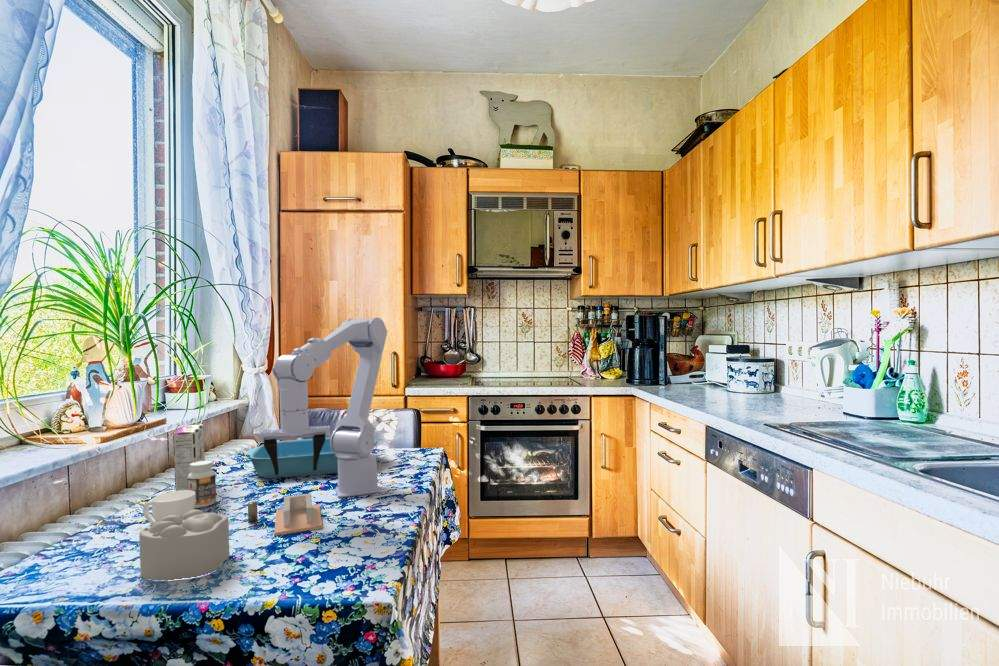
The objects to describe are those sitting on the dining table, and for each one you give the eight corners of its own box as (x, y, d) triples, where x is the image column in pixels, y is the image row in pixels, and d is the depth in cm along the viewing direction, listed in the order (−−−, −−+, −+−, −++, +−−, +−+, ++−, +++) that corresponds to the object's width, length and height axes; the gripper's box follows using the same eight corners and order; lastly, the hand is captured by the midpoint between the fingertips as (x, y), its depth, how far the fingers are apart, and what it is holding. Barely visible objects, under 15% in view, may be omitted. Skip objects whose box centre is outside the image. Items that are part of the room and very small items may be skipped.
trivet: (319, 506, 118) (318, 504, 118) (322, 528, 105) (322, 525, 105) (276, 512, 114) (276, 510, 114) (274, 535, 101) (274, 532, 101)
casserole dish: (236, 485, 137) (235, 458, 137) (255, 464, 159) (255, 441, 159) (377, 473, 145) (377, 448, 145) (378, 454, 167) (377, 433, 167)
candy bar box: (184, 487, 135) (182, 425, 135) (206, 484, 137) (204, 423, 137) (173, 500, 125) (172, 433, 125) (197, 497, 127) (195, 431, 126)
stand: (257, 519, 111) (257, 500, 111) (257, 522, 109) (256, 503, 109) (248, 520, 110) (248, 502, 110) (248, 523, 108) (247, 504, 108)
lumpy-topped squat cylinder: (210, 578, 84) (209, 526, 84) (125, 585, 83) (123, 532, 83) (234, 551, 95) (233, 504, 95) (159, 557, 93) (157, 509, 93)
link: (311, 507, 116) (311, 493, 116) (313, 522, 106) (312, 507, 106) (284, 511, 114) (284, 496, 114) (283, 527, 104) (283, 511, 104)
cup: (184, 534, 103) (183, 501, 103) (132, 537, 102) (131, 503, 102) (203, 520, 111) (202, 489, 111) (155, 522, 110) (154, 491, 110)
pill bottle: (203, 509, 118) (202, 466, 118) (182, 508, 119) (180, 465, 119) (221, 501, 123) (220, 460, 123) (201, 500, 125) (199, 459, 124)
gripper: (256, 415, 105) (258, 481, 105) (330, 409, 111) (332, 471, 111) (258, 410, 112) (260, 472, 112) (328, 404, 117) (329, 463, 117)
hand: (296, 471), depth 112 cm, fingers open, 7 cm apart
